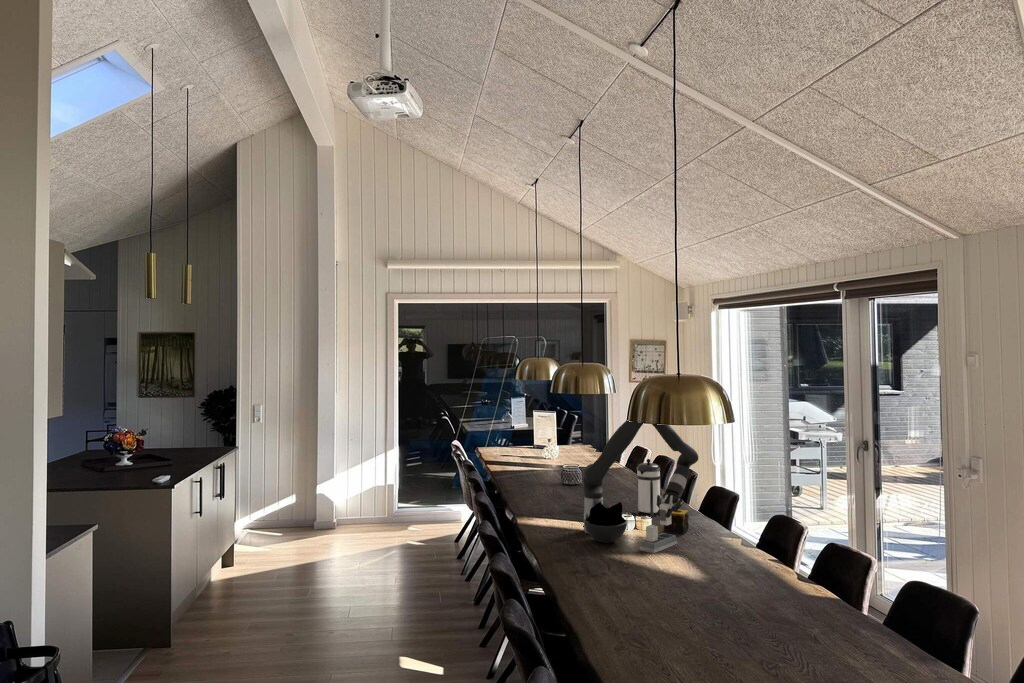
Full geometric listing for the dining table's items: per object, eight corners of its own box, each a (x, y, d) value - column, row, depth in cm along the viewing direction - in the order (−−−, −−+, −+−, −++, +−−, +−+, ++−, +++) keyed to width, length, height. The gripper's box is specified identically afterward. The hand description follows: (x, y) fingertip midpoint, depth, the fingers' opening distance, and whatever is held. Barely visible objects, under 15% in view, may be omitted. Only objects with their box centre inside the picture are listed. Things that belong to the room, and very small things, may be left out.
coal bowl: (577, 544, 320) (577, 504, 320) (593, 534, 337) (593, 495, 337) (619, 550, 310) (618, 508, 310) (632, 539, 328) (632, 499, 328)
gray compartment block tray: (653, 553, 306) (653, 529, 306) (639, 550, 311) (639, 526, 311) (677, 543, 320) (677, 521, 320) (663, 541, 325) (663, 518, 325)
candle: (663, 532, 340) (663, 512, 341) (668, 527, 349) (668, 508, 350) (684, 535, 336) (683, 514, 336) (689, 530, 345) (688, 510, 345)
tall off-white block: (666, 525, 317) (665, 506, 317) (659, 524, 319) (659, 504, 319) (671, 523, 320) (671, 504, 320) (664, 522, 322) (664, 503, 322)
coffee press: (667, 516, 372) (666, 461, 372) (637, 516, 372) (637, 461, 372) (660, 509, 389) (660, 456, 389) (632, 509, 389) (632, 456, 390)
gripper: (660, 479, 330) (646, 509, 321) (686, 483, 320) (673, 514, 311) (666, 488, 334) (652, 518, 325) (692, 492, 324) (679, 523, 315)
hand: (663, 516), depth 318 cm, fingers closed on tall off-white block, 3 cm apart
